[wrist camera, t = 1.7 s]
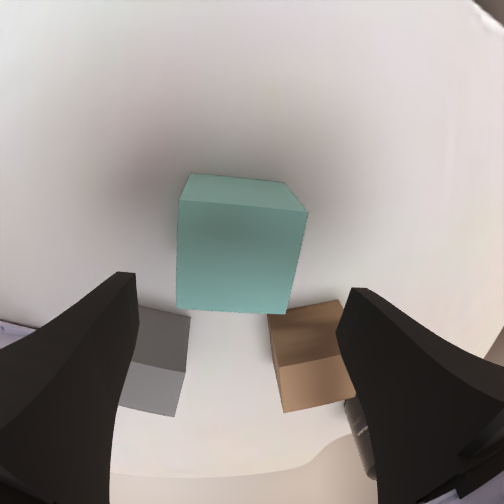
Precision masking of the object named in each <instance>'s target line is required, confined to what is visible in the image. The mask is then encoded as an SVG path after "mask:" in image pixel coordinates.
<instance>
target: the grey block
mask: <svg viewBox="0 0 504 504" xmlns="http://www.w3.org/2000/svg"><path fill="white" fill-rule="evenodd" d="M138 311H139V320H140V325H139V330H138V336H137V341H136V346H135V350H134V353H133V357H132V360H131V363H130V366H129V370H128V373H127V376H126V379H125V383H124V386H123V389H122V393H121V396H120V399H119V403H118V405H119V406H123V407H127V408H131V409H136V410H140V411H145V412H149V413H154V414H159V415H164V416H169V417H174V416H175V412H176V408H177V404H178V400H179V396H180V392H181V388H182V384H183V381H184V377H185V372H186V360H187V349H188V338H189V328H190V318H191V317H187V316H182V315H177V314H173V313H169V312H164V311H160V310H156V309H151V308H147V307H143V306H139V305H138Z"/></svg>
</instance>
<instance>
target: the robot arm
mask: <svg viewBox="0 0 504 504" xmlns="http://www.w3.org/2000/svg"><path fill="white" fill-rule="evenodd" d="M139 325H140V320H139V311H138V300H137V289H136V275H135V273H128V272H116V273H115V274H113V275H112V276H111V277H109V278H108V279H107V280H105V281H104V282H103V283H101V284H100V285H99V286H98V287H96V288H95V289H94V290H93V291H91V292H90V293H89V294H87V295H86V296H85V297H83V298H82V299H81V300H80V301H78V302H77V303H76V304H74V305H73V306H71V307H70V308H69V309H67V310H66V311H64V312H63V313H62V314H60V315H59V316H57V317H56V318H55V319H53V320H52V321H50V322H49V323H47V324H45V325H44V326H42V327H41V328H39V329H37V330H36V329H31V328H27V327H23V326H19V325H15V324H11V323H7V322H3V321H0V504H110V503H109V481H110V460H111V449H112V439H113V431H114V424H115V417H116V412H117V407H118V403H119V399H120V396H121V393H122V389H123V386H124V383H125V379H126V376H127V373H128V370H129V366H130V363H131V360H132V357H133V353H134V350H135V346H136V341H137V336H138V330H139ZM335 333H336V338H337V342H338V346H339V350H340V353H341V357H342V359H343V362H344V364H345V367H346V369H347V372H348V374H349V377H350V379H351V382H352V384H353V386H354V389H355V391H356V394H357V396H358V399H359V401H360V404H361V406H362V409H363V412H364V415H365V419H366V423H367V427H368V431H369V435H370V439H371V444H372V450H373V455H374V461H375V469H376V477H377V488H378V504H504V367H503V366H500V365H497V364H494V363H492V362H489V361H486V360H484V359H482V358H479V357H477V356H475V355H473V354H470V353H468V352H466V351H464V350H462V349H460V348H459V347H457V346H455V345H453V344H451V343H450V342H448V341H446V340H444V339H443V338H441V337H439V336H438V335H436V334H435V333H433V332H431V331H430V330H428V329H427V328H425V327H424V326H422V325H421V324H419V323H418V322H416V321H415V320H414V319H412V318H411V317H409V316H408V315H406V314H405V313H404V312H402V311H401V310H399V309H398V308H397V307H395V306H394V305H392V304H391V303H390V302H388V301H387V300H385V299H384V298H382V297H381V296H379V295H378V294H376V293H375V292H373V291H371V290H369V289H367V288H351V291H350V294H349V296H348V299H347V302H346V305H345V308H344V310H343V313H342V316H341V319H340V321H339V324H338V326H337V329H336V332H335Z"/></svg>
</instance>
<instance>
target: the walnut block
mask: <svg viewBox="0 0 504 504" xmlns="http://www.w3.org/2000/svg"><path fill="white" fill-rule="evenodd" d="M343 310H344V309H343V307H342V306H341V304H340V302H339V300H334V301H329V302H324V303H319V304H314V305H309V306H304V307H298V308H293V309H287V310H286V313H285V314H267V317H268V325H269V333H270V341H271V349H272V357H273V364H274V369H275V374H276V378H277V383H278V388H279V393H280V398H281V403H282V408H283V412H284V413H287V412H292V411H297V410H302V409H307V408H312V407H316V406H321V405H325V404H329V403H333V402H337V401H341V400H345V399H349V398H352V397H355V394H356V391H355V389H354V386H353V384H352V382H351V379H350V377H349V374H348V372H347V369H346V367H345V364H344V362H343V359H342V357H341V353H340V350H339V346H338V342H337V338H336V333H335V332H336V329H337V326H338V324H339V321H340V319H341V316H342V313H343Z"/></svg>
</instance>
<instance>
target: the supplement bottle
mask: <svg viewBox="0 0 504 504" xmlns="http://www.w3.org/2000/svg"><path fill="white" fill-rule="evenodd" d="M345 413H346V416H347V419H348V422H349V425H350V428H351V431H352V434H353V437H354V440H355V443H356V446H357V449H358V452H359V455H360V458H361V461H362V464H363V467H364V470H365V473H366V475H367V476H368V477H369V478H371V479H372V480H376V481H377V477H376V469H375V461H374V455H373V450H372V444H371V439H370V435H369V431H368V427H367V423H366V419H365V415H364V412H363V409H362V406H361V404H360V401H359V399H358V396H357V394H355V397H352V398H349V399H347V401H346V404H345Z"/></svg>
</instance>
